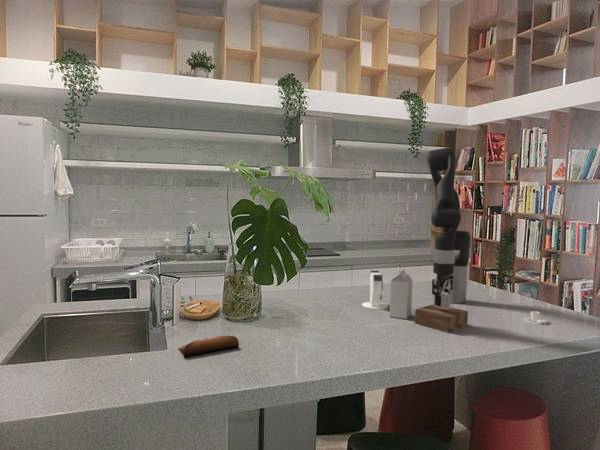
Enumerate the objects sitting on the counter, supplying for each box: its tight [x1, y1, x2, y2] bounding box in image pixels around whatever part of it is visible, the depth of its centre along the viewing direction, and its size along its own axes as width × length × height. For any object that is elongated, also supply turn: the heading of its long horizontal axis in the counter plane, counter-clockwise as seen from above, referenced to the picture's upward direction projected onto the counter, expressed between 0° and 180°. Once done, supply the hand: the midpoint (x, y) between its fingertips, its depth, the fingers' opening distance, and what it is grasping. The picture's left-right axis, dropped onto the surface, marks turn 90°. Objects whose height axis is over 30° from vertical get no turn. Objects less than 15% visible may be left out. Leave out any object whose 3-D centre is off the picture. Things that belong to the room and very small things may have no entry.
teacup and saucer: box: [524, 310, 548, 325], centre depth 180 cm, size 9×8×4 cm
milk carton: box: [389, 268, 413, 320], centre depth 183 cm, size 7×7×19 cm
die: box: [432, 291, 452, 308], centre depth 172 cm, size 5×5×5 cm
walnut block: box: [414, 303, 469, 334], centre depth 173 cm, size 14×14×6 cm
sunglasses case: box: [177, 335, 240, 358], centre depth 141 cm, size 18×7×7 cm
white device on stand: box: [361, 270, 389, 310], centre depth 198 cm, size 12×11×15 cm
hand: (441, 303), depth 172 cm, fingers closed on die, 6 cm apart
